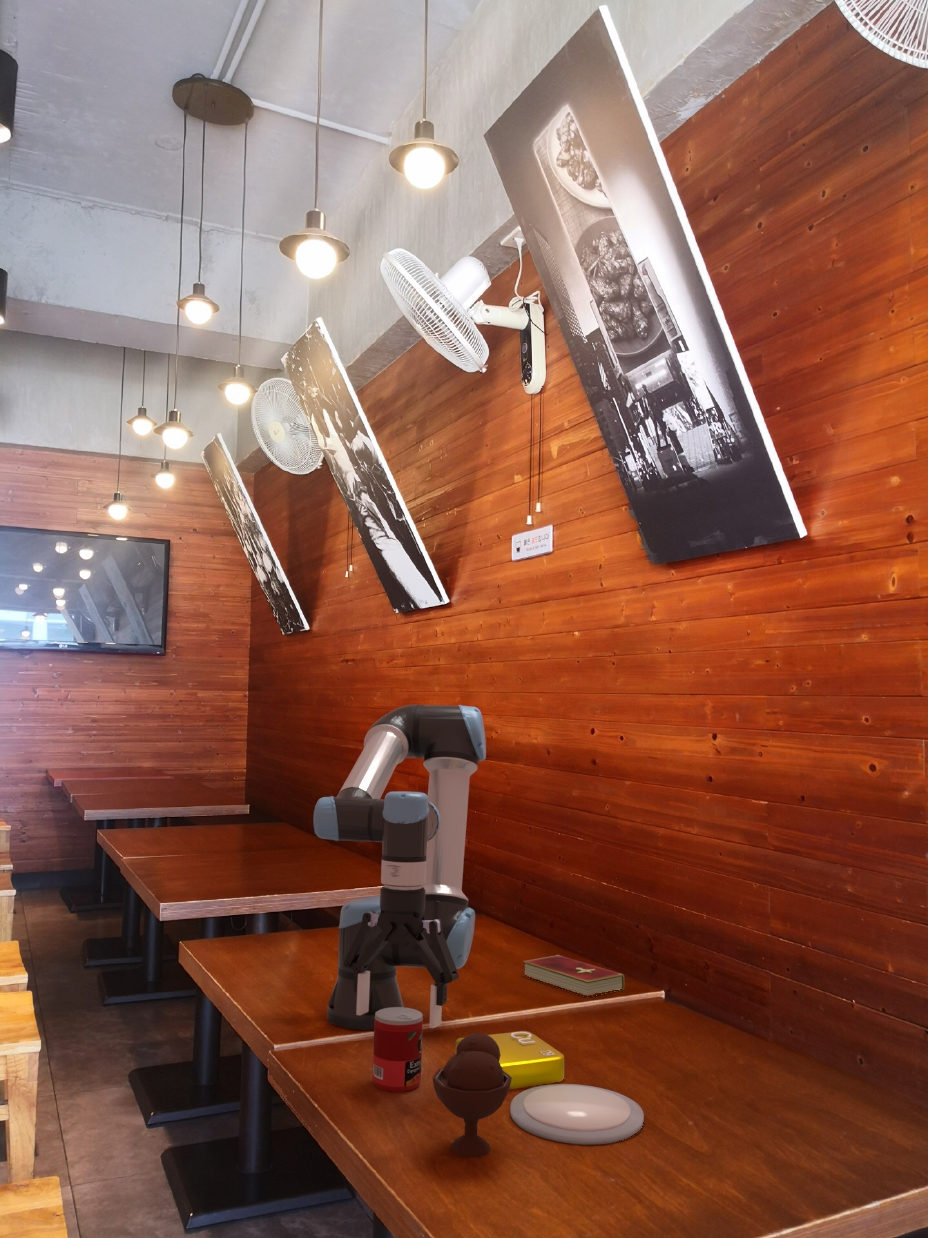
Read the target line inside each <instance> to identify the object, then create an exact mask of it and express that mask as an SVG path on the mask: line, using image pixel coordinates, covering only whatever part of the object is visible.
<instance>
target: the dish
mask: <svg viewBox="0 0 928 1238" xmlns="http://www.w3.org/2000/svg"><path fill="white" fill-rule="evenodd" d="M510 1117H511V1119H512V1121H513V1122H514V1123H515V1124H516V1125H517V1126H518V1127H519V1128H521V1129H523V1130H524V1131H525V1132H528V1133H529V1134H532V1135H534V1136H537V1137H538V1138H539V1137H540V1138H541V1139H542V1138H543V1139H546V1140H549V1141H554V1142H558V1143H564V1144H569V1145H571V1144H572V1145H584V1146H585V1145H586V1146H587V1145H595V1146H596V1145H605V1144H606V1145H607V1144H614V1143H618V1142H620V1141H619V1140H622V1141H625V1140H627V1139H626V1138H628V1137H630V1136H632V1135H634V1134H635V1133H637V1132H638V1131H639V1130H640V1129H641V1128H642V1129H643V1127H644V1124H643V1122H644V1119H645V1118H644V1117H645V1115H644V1111H643V1109H642V1107H641V1106H640V1105H639V1104H638V1103H637V1102H636V1101H635V1100H633V1099H631V1098H629V1097H627V1096H625V1095H623V1094H621V1093H619V1092H616V1091H614V1090H610V1089H605V1088H602V1087H597V1086H592V1085H587V1084H586V1085H585V1084H584V1085H583V1084H574V1083H571V1084H570V1083H555V1084H547V1085H539V1086H533V1087H530V1088H528V1089H526V1090H523V1091H522V1092H520V1093H518V1094H517V1095H515V1096H514V1097H513V1098H512V1099H511V1102H510ZM644 1123H645V1122H644ZM642 1126H643V1127H642ZM642 1129H641V1130H642ZM641 1130H640V1131H641ZM640 1131H639V1132H640ZM637 1134H638V1133H637ZM634 1136H635V1135H634ZM632 1137H633V1136H632ZM630 1138H631V1137H630ZM624 1139H625V1140H624ZM628 1139H629V1138H628ZM617 1141H618V1142H617ZM613 1142H614V1143H613Z"/></svg>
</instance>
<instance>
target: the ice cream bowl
mask: <svg viewBox="0 0 928 1238" xmlns="http://www.w3.org/2000/svg"><path fill="white" fill-rule="evenodd" d="M488 1035H489V1034H486V1033H481V1032H474V1033H469V1034H468V1035H467V1036H464V1037H465V1038H464V1037H463V1038H464V1039H462V1040H461V1041H460V1042H459V1044H458V1046H457V1049H456V1048H455V1053H454V1054H453V1055H452V1056H451V1057H449V1059H448V1060H447V1062H446V1064H445V1065H444V1067H442V1068H438V1069H437V1070H436V1072H435V1074H434V1075H433V1076H432V1084H433V1089H434V1091H435V1094H436V1097H437V1098H438V1100H439V1101H440V1102H441V1103H442V1105H444V1107H445V1108H446V1109H448V1111H449V1112H450V1114H453V1115H454V1116H455V1117H456V1118H460V1119H463V1122H464V1134H463V1135H461V1136H458V1137H457V1138H455V1139H454V1140H453V1141H452V1144H451V1146H450V1150H451V1151H452V1152H453V1153H454V1155H458V1156H461V1157H464V1158H481V1157H483V1156H486V1155H489V1153H490V1150H491V1145H490V1143H489V1142H488V1141H487V1140H485V1139H484V1138H483V1137H482V1136H479V1135H478V1123H479V1120H481V1119H485V1118H488V1117H489V1116H491V1115H493V1114H494V1113H495V1112H496V1111H498V1110H499V1109H500V1108H501V1107H502V1106H503V1104H504V1102H505V1099H506V1097H507V1095H508V1093H509V1090H511V1089H510V1084H511V1079H512V1077H511V1076H509V1075H508V1074H507V1073H506V1072H504V1071H503V1069H502V1067H501V1065H500V1063H499V1060H500V1056H501V1055H500V1049H499V1047H498V1045H497V1043H496V1041H495V1040H494V1039H493V1038H492V1037H490V1036H488ZM456 1051H457V1052H456Z"/></svg>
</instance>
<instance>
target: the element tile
mask: <svg viewBox="0 0 928 1238" xmlns="http://www.w3.org/2000/svg"><path fill="white" fill-rule="evenodd" d="M487 1035H488V1036H490V1037H492V1038H493V1039H494V1040H495V1041H496V1043H497V1045H498V1047H499V1049H500V1055H501V1056H500V1060H499V1063H500V1065H501V1067H502V1069H503V1071H504V1072H506V1073H507V1074H508V1075H509V1076H511V1077H512V1079H511V1084H510V1089H509V1090H517V1089H522V1088H529V1087H528V1086H532V1087H537V1086H536V1085H539V1086H542V1085H541V1084H547V1085H550V1084H549V1083H554V1082H560V1081H562V1080H563V1079H564V1080H565V1055H564V1054H563V1053H562V1052H560V1051H558V1050H557V1049H555V1048H554V1047H553V1046H551V1045H550V1044H549V1043H547V1042H546V1041H544V1040H542V1039H541V1038H539V1037H538V1036H537V1035H536V1034H533V1033H532V1032H530V1031H528V1030H527V1031H526V1030H520V1031H512V1032H504V1033H503V1032H502V1033H495V1034H487ZM465 1037H466V1036H464V1037H459V1038H457V1039H456V1040H455V1053H456V1052H457V1051H456V1049H457V1046H458V1044H459V1042H460V1041H461V1040H462V1039H464V1038H465ZM560 1083H561V1082H560Z"/></svg>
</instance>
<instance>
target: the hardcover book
mask: <svg viewBox="0 0 928 1238" xmlns="http://www.w3.org/2000/svg"><path fill="white" fill-rule="evenodd" d="M522 964H524V976H525V975H527V976H529V977H532V978H534V979H538V980H540V981H543V982H546V983H550V984H553V985H556V986H559V987H561V988H565V989H567V990H571V991H573V992H577V993H581V994H583V995H587V996H588V995H593V994H595V993H602V992H608V991H612V990H619V991H625V985H626V984H625V983H626V982H625V974H624V973H620V972H617V971H613V970H611V969H606V968H603V967H601V966H597V965H593V964H590V963H587V962H582V961H579V960H576V959H573V958H569V957H566V956H562V955H560V954H556V955H551V956H545V957H540V958H534V959H533V958H532V959H528V960H522ZM620 989H622V990H620Z"/></svg>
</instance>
